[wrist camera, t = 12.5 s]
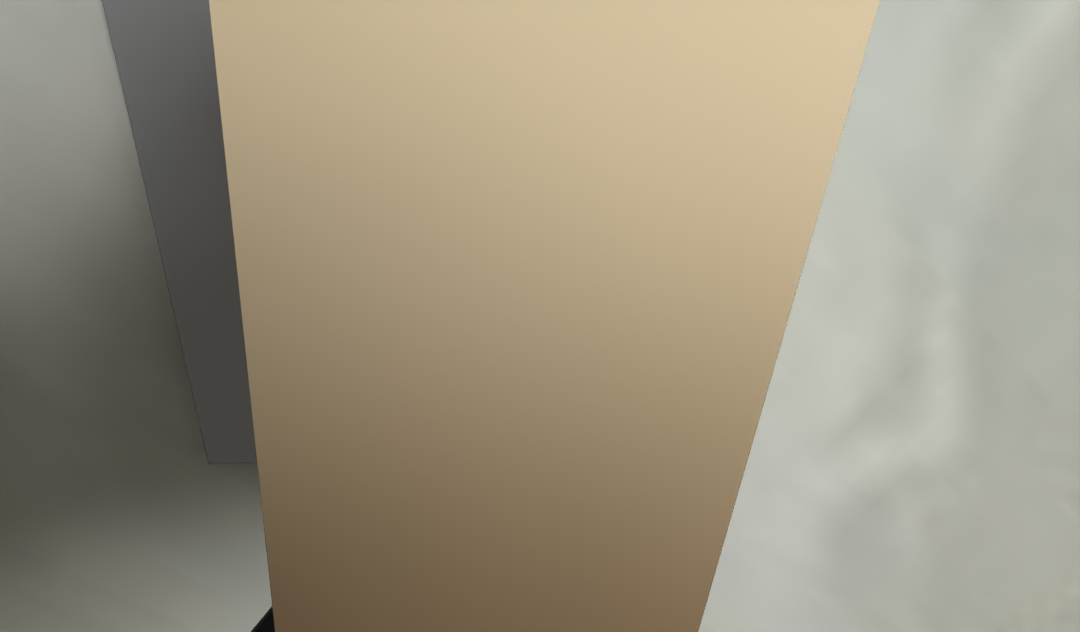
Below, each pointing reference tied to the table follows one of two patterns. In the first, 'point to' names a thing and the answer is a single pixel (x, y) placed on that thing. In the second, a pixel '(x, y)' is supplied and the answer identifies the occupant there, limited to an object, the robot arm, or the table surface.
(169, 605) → the table surface
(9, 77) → the table surface
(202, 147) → the tool mat
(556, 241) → the pusher tool
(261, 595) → the table surface
